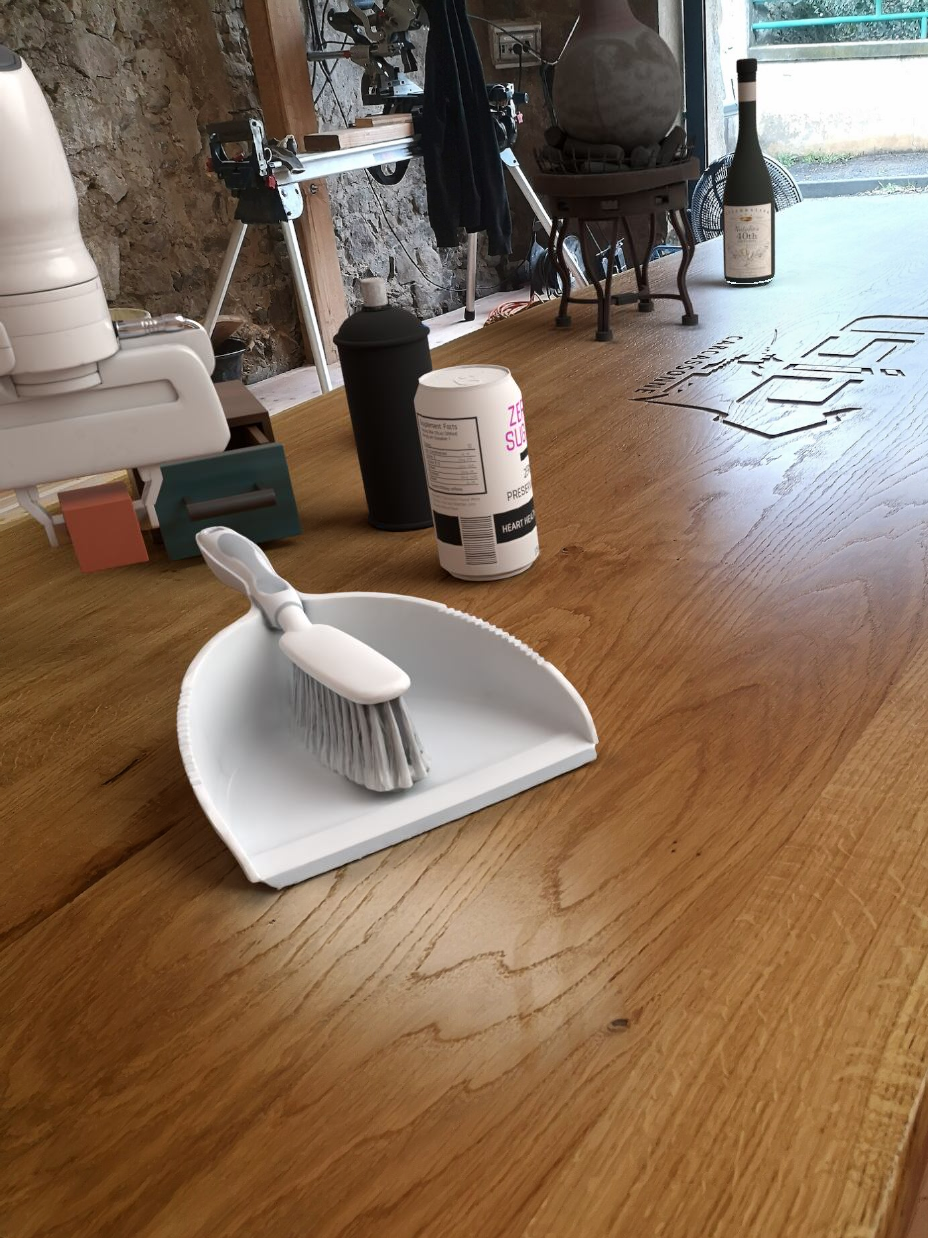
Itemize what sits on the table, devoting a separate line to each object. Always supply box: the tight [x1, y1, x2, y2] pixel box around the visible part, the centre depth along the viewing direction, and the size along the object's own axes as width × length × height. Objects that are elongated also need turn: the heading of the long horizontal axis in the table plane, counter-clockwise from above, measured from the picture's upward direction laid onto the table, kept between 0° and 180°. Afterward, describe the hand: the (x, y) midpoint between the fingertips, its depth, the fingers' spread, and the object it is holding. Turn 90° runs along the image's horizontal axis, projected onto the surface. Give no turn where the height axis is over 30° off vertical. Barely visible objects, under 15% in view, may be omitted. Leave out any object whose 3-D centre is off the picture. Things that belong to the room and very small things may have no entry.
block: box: [56, 480, 150, 575], centre depth 89 cm, size 5×5×5 cm
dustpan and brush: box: [176, 526, 600, 891], centre depth 79 cm, size 23×33×10 cm
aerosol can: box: [332, 276, 434, 532], centre depth 108 cm, size 8×8×20 cm
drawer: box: [154, 423, 303, 562], centre depth 109 cm, size 18×11×8 cm, turn 25°
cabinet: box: [126, 379, 276, 545], centre depth 117 cm, size 15×13×10 cm
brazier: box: [531, 0, 701, 342], centre depth 165 cm, size 22×22×45 cm
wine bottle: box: [721, 57, 776, 288], centre depth 188 cm, size 8×8×30 cm
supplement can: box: [414, 363, 540, 582], centre depth 98 cm, size 8×8×15 cm
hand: (105, 535), depth 89 cm, fingers closed on block, 4 cm apart
